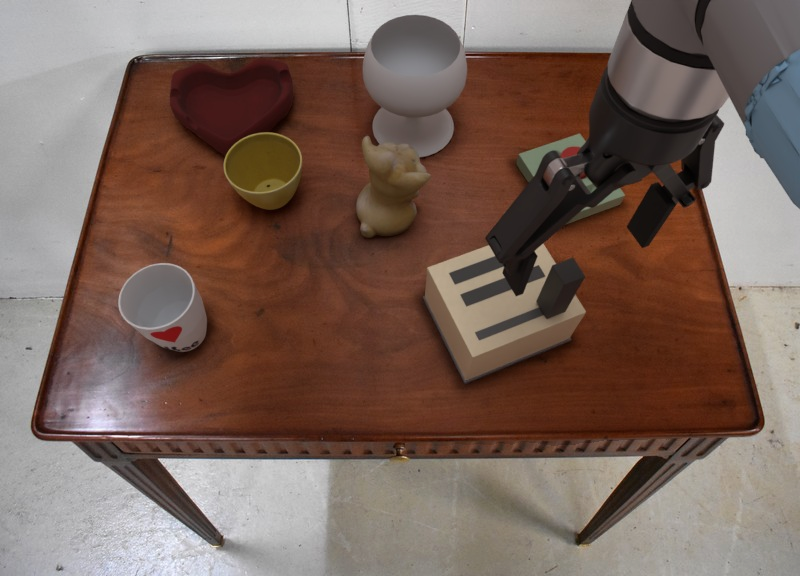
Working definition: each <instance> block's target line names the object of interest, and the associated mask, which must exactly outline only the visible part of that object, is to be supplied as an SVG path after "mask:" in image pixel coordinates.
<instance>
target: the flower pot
mask: <svg viewBox="0 0 800 576" xmlns="http://www.w3.org/2000/svg"><path fill="white" fill-rule="evenodd" d="M223 172H224V176H225V178H226V179H227V181H228V183H229V184H230V185H231V187H232V188H233V190H235V192H237V194H238V195H239V196H240V197H242V198H243V199H244V200H245V201H247V202H248V203H250V204H251V205H253V206H255V207H257V208H260V209H263V210H268V211H273V210H278V209H280V208H282V207H284V206H286V205H287V204H289V202H290V201H291V200H292V198H293V197H294V195H295V193H296V191H297V189H298V187H299V184H300V181H301V177H302V172H303V156H302V152H301V149H300V148H299V147H298V144H297V143H295V142H294V141H293V140H292V139H290V138H289V137H288V136H285V135H284V134H280V133H276V132H270V131H269V132H268V133H267V132H265V133H256V134H252V135H249V136H247V137H244V138H243V139H241V140H239V141H238V142H237V143H235V144H234V145H233V146H232V147H231V148H230V149H229V151H228V153H227V154H226V156H224V160H223Z"/></svg>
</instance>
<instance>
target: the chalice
mask: <svg viewBox="0 0 800 576" xmlns="http://www.w3.org/2000/svg"><path fill="white" fill-rule="evenodd" d="M467 77H468V63H467V56H466V51H465V48H464V45H463V42H462V40H461V39H460V36H459V35H458V33H457V31H455V29H453V27H452V26H451V25H449V24H447V23H446V22H444V21H443V20H441V19H439V18H436V17H433V16H428V15H423V14H406V15H400V16H397V17H393V18H392V19H389V20H387V21H386V22H384V23H383V24H381V25H379V27H378V28H377V29H376V30H375V31H374V32H373V34H372V36H371V38H370V40H369V41H368V43H367V45H366V47H365V52H364V55H363V60H362V80H363V84H364V87H365V89H366V92H367V93H368V95H369V96H370V97H371V99H372V100H373V102H375V103H376V104H377V105H378V106H379V107H380V108H379V109H378V110H377V112H376V114H375V115H374V117H373V121H372V133H373V136H374V138H375V140H376V142H377V143H378V145H379V144H381V143H385V142H390V143H394V144H396V145H400V144H408V145H410V146H412V147H413V148H414V149H415V150H416V151H417V153H418V155H419V158H424V157H429V156H431V155H433V154H436V153H438V152H439V151H441V150H443V149H444V148H445V147H446V146H447V145H448V144H449V143H450V141H451V139H452V137H453V134H454V131H455V125H454V119H453V117H452V115H451V114H450V111H448V109H447V108H449V107H451V106H452V105H453V104H454V103H455V102H456V101H457V100H458V99H459V97H460V96H461V94H462V92H463V91H464V89H465V87H466V82H467Z"/></svg>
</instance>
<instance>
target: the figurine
mask: <svg viewBox="0 0 800 576" xmlns="http://www.w3.org/2000/svg"><path fill="white" fill-rule="evenodd" d="M361 151H362V155H363V158H364V162H365V164H366V166H367V169H368V178H369V183H367V184H366V185H365V186H364V187H363V188H362V190H361V191H360V192H359V194H358V196H357V199H356V206H355V210H356V211H355V212H356V215H357V218H358V220H359V222H360V227H359V231H360V233H361V235H362V236H363V237H364V238H367V239H372V238H374V237H375V236H381V237H393V236H397V235H399V234H403V232H405V231H407V230H408V229H410V227H411V226H412V224H413V222H414V221H415V218H416V217H417V214H418V211H417V206H416V204H415V202H414V201H413V200H415V199H416V198H418V196H419V194H420V189H422V188H423V187H424V186H425V185H426V184H427V183H428V182H429V181H430V180H431V178H432V175H431V173H429V172H427V169H426V167H425V166H424V165H423V163H421V157H419V155H418V153H417V151H416V150H415V149H414V148H413V147H412V146H410V145H408V144H400V145H396V144H394V143H390V142H385V143H381V144H379V143H378V145H374V144H373V143H372V139H371V137H370V136H369V135H366V136H364V137H363V139H362V141H361Z"/></svg>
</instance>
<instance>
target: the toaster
mask: <svg viewBox="0 0 800 576" xmlns="http://www.w3.org/2000/svg"><path fill="white" fill-rule="evenodd" d="M535 253H536V254H537V256H538V257H537V259H536V262H535V264H534V267H533V270H532V272H531V275H530V277H529V280H528V283H527V285H526V288H525V291H524V293H523V294H521V295H519V296H515V294H514V292H513V291H512V289H511V287H510V285H509V284H508V282H507V280H506V279H505V277H504V275H503V273H502V272H503V269H504V266H503V264H502V263H499V261H498V260H497V258H496V256H495V255H494V253H493V251H492V249H491V248H490V246H489V244H488V245H485V246H482V247H480V248H476V249H474V250H472V251H469V252H466V253H463V254H461V255H460V254H459V255H458V256H455V257H452V258H450V259H447V260H444V261H441V262H438V263H435V264H433V265H430V266H427V268H426V278H425V289H424V290H425V292H424V295H422V300H423V302H424V304H425V306H426V307H425V308H427V311H428V312H429V315H430V317H431V319H432V321H433V323H434V325H435V327H436V330H437V331H438V334H439V335H440V337H441V339H442V341H443V344H444V346H445V348H446V349H447V351H448V354H449V356H450V358H451V360H452V362H453V364H454V366H455V369H456V370H457V372H458V374H459V376H460V378H461V380H462V382H463V383H462V384H464V385H467V384H469V383H471V382H474V381H477V380H479V379H481V378H484V377H486V376H489V375H491V374H495V372H498V371H501V370H503V369H506V368H508V367H510V366H513V365H516V364H518V363H521V362H524V361H526V360H528V359H530V358H533V357H535V356H538V355H540V354H543V353H545V352H547V351H550V350H553V349H555V348H557V347H560V346H562V345H565V344H567V343H570V342H571V341H572V340H573V339H572V335H573V334H574V332H575V330H576V329H577V327H578V326H579V324H580V322H581V321H582V319H583V318H584V316H585V314H586V313H587V311H586V309H585V307H584V306H583V304H582V303H581V301H580V300H579V298H578V296H577V295H576V294H575V296H574V297H573V299H572V301H571V303H570V305H569V306H568V308H567V310H566V312H564V313H561V314H559V315H556V316H554V317H551V318H549V319H546V318H545V316H544V314H543V312H542V311H541V309H540V307H539V306H538V304H537V302H536V301H537V298H538V296H539V294H540V292H541V290H542V287H543V285H544V283H545V281H546V278H547V276H548V274H549V272H550V270H551V267H552V265H555V264H557V263H556V262H555V260H554V258H553V256H552V255H551V253H550V251H549V250H548V248H547V247H546V246H545V244H544V243H543V244H542V245H541V246H540V247H539V248H537V249H536V250H535Z"/></svg>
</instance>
